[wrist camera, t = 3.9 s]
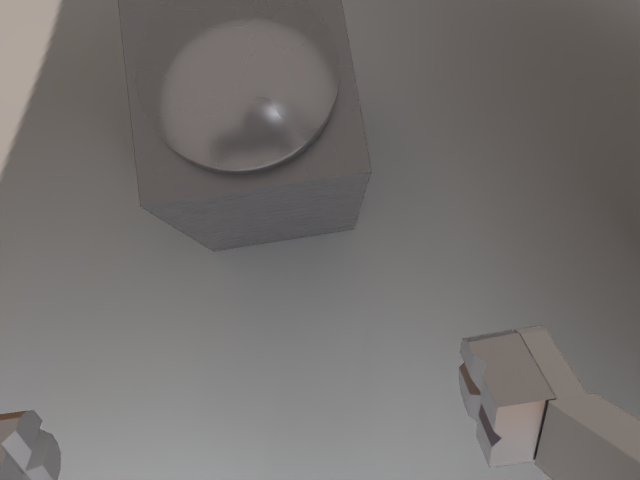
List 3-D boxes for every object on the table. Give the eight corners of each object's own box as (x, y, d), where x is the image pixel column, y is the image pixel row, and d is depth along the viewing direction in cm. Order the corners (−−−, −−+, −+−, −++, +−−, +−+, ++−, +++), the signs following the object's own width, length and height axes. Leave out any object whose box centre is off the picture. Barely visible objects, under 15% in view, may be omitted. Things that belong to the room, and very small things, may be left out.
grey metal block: (331, 95, 24) (335, -54, 14) (353, 229, 23) (373, 164, 13) (195, 116, 24) (108, -20, 14) (212, 251, 23) (132, 201, 13)
